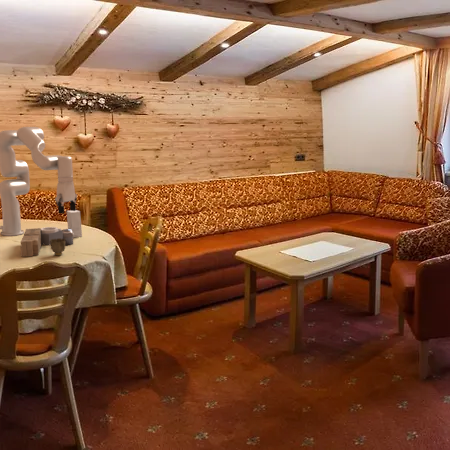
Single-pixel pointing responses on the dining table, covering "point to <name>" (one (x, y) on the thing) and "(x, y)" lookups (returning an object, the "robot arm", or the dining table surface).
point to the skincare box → (74, 222)
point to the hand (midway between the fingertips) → (67, 212)
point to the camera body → (50, 234)
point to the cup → (58, 246)
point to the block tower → (31, 242)
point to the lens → (68, 236)
